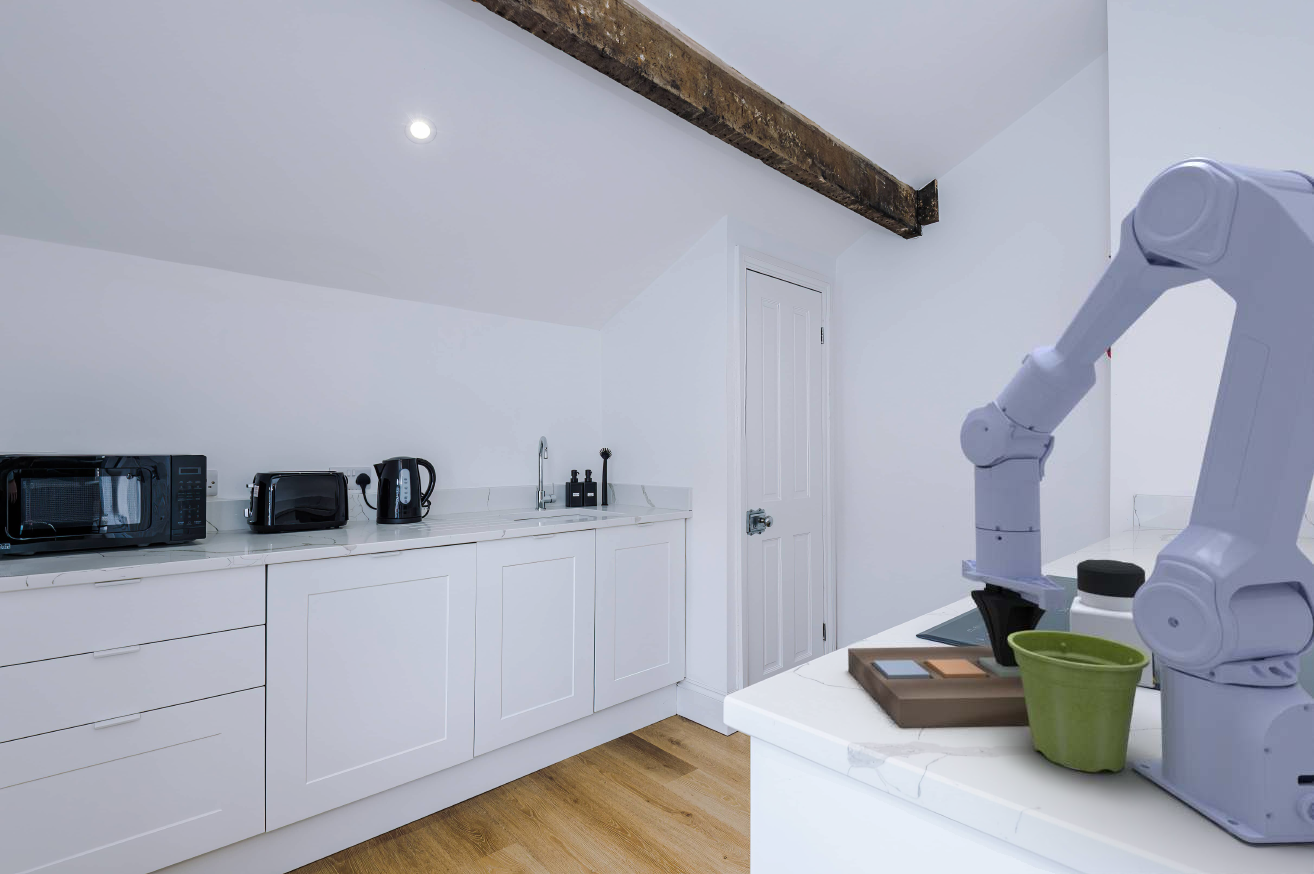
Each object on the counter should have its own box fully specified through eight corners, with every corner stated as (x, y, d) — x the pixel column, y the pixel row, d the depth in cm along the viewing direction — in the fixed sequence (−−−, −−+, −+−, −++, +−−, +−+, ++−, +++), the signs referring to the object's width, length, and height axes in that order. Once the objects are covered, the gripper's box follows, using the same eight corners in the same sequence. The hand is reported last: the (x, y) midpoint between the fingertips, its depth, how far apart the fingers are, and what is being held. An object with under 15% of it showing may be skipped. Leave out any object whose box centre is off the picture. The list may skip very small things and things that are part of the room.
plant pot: (1020, 719, 56) (1018, 623, 57) (1153, 750, 50) (1151, 642, 51) (998, 759, 49) (996, 649, 49) (1151, 801, 43) (1148, 675, 43)
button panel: (1090, 723, 55) (1089, 695, 55) (900, 727, 55) (899, 698, 55) (1000, 668, 69) (999, 645, 69) (848, 670, 69) (848, 648, 69)
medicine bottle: (1155, 689, 63) (1152, 570, 63) (1070, 674, 67) (1068, 562, 68) (1153, 669, 69) (1150, 559, 69) (1075, 656, 73) (1073, 553, 73)
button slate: (930, 699, 60) (930, 674, 60) (889, 699, 60) (888, 674, 60) (912, 683, 64) (912, 660, 64) (874, 684, 64) (873, 660, 64)
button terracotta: (986, 698, 60) (986, 673, 60) (945, 698, 60) (945, 673, 60) (965, 682, 64) (965, 659, 64) (927, 683, 64) (926, 659, 64)
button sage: (1043, 695, 60) (1042, 670, 60) (1002, 696, 60) (1001, 671, 60) (1018, 680, 64) (1017, 657, 64) (980, 681, 64) (979, 657, 64)
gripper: (934, 520, 70) (936, 642, 70) (1010, 539, 55) (1013, 693, 55) (996, 519, 70) (998, 641, 70) (1088, 538, 55) (1091, 692, 55)
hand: (1009, 664), depth 62 cm, fingers closed, pressing on button sage
